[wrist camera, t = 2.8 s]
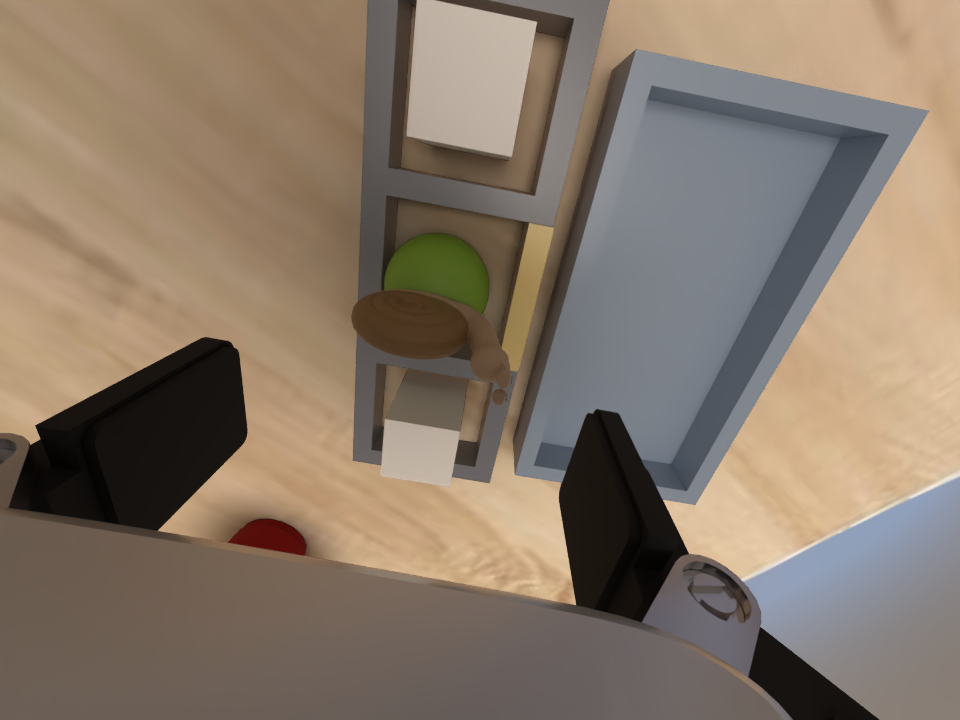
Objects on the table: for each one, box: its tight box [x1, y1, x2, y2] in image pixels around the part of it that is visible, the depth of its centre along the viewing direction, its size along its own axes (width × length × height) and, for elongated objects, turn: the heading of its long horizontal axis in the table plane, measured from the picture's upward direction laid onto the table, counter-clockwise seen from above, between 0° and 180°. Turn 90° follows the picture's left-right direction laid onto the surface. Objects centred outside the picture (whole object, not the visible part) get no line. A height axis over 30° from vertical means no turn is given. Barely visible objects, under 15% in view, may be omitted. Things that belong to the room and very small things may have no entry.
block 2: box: [406, 0, 537, 160], centre depth 16 cm, size 4×4×6 cm
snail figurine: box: [351, 233, 512, 405], centre depth 17 cm, size 5×6×12 cm
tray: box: [513, 49, 929, 505], centre depth 21 cm, size 22×12×4 cm, turn 170°
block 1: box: [380, 368, 468, 487], centre depth 24 cm, size 4×4×6 cm
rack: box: [353, 0, 610, 483], centre depth 21 cm, size 26×9×3 cm, turn 170°
